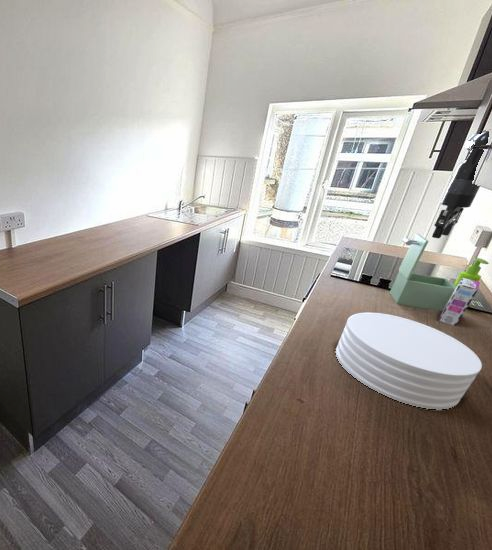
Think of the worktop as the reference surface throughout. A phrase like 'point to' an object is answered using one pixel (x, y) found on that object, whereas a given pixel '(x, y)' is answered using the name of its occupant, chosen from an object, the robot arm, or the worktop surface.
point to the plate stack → (407, 360)
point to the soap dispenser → (471, 271)
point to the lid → (412, 254)
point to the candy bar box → (459, 301)
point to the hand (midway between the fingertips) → (440, 236)
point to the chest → (422, 291)
